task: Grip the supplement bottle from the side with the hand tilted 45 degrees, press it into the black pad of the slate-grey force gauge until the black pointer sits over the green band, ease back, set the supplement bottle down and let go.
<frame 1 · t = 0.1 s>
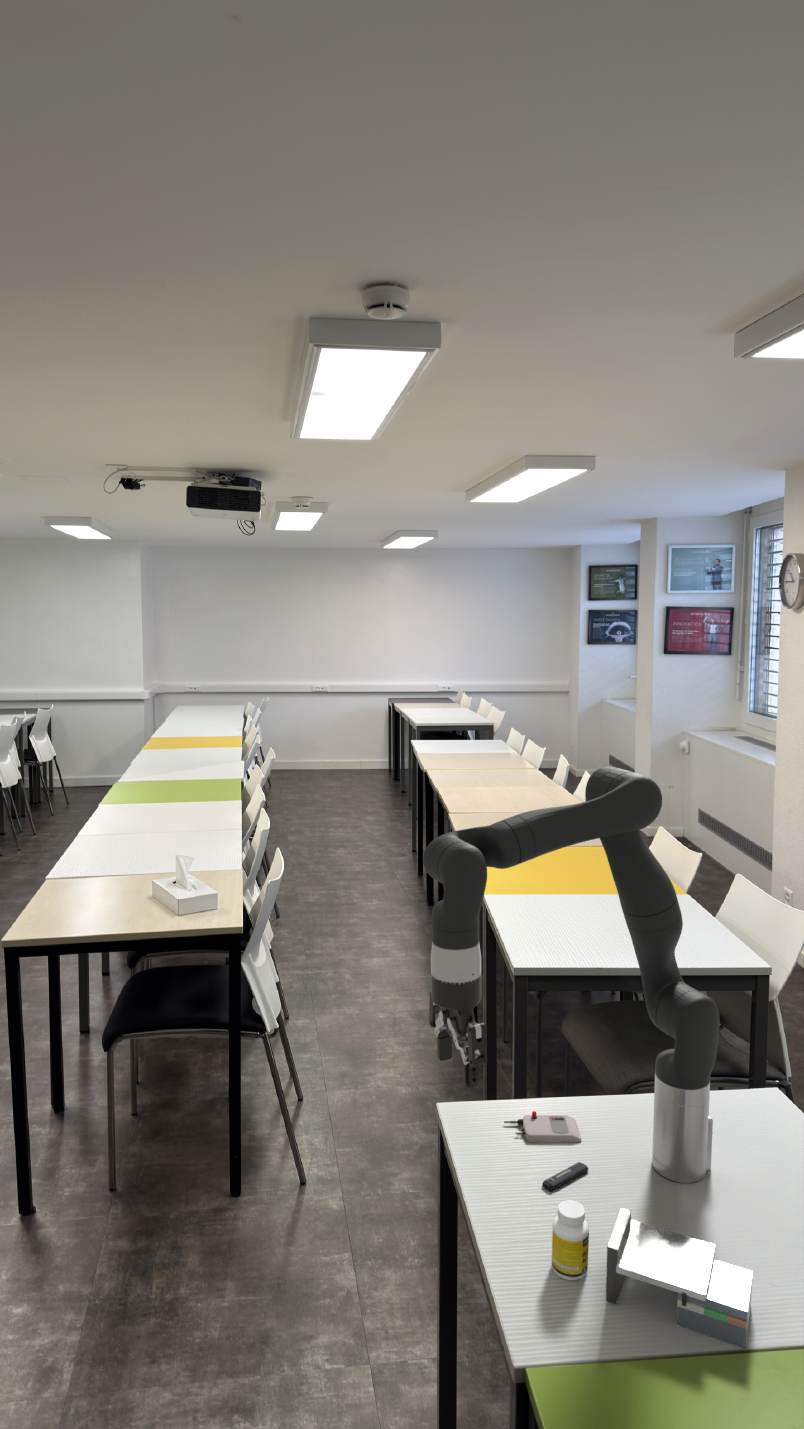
hand: (457, 1071, 135), 29 cm above the table, tool pointing down, fingers open, 8 cm apart
usb stick: (565, 1182, 155), on the table
electrical tester: (546, 1134, 169), on the table
gauge housing: (617, 1283, 131), on the table
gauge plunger: (660, 1267, 128), point 5 cm above the table, slide at 0.0 cm
supplement bottle: (569, 1269, 134), on the table
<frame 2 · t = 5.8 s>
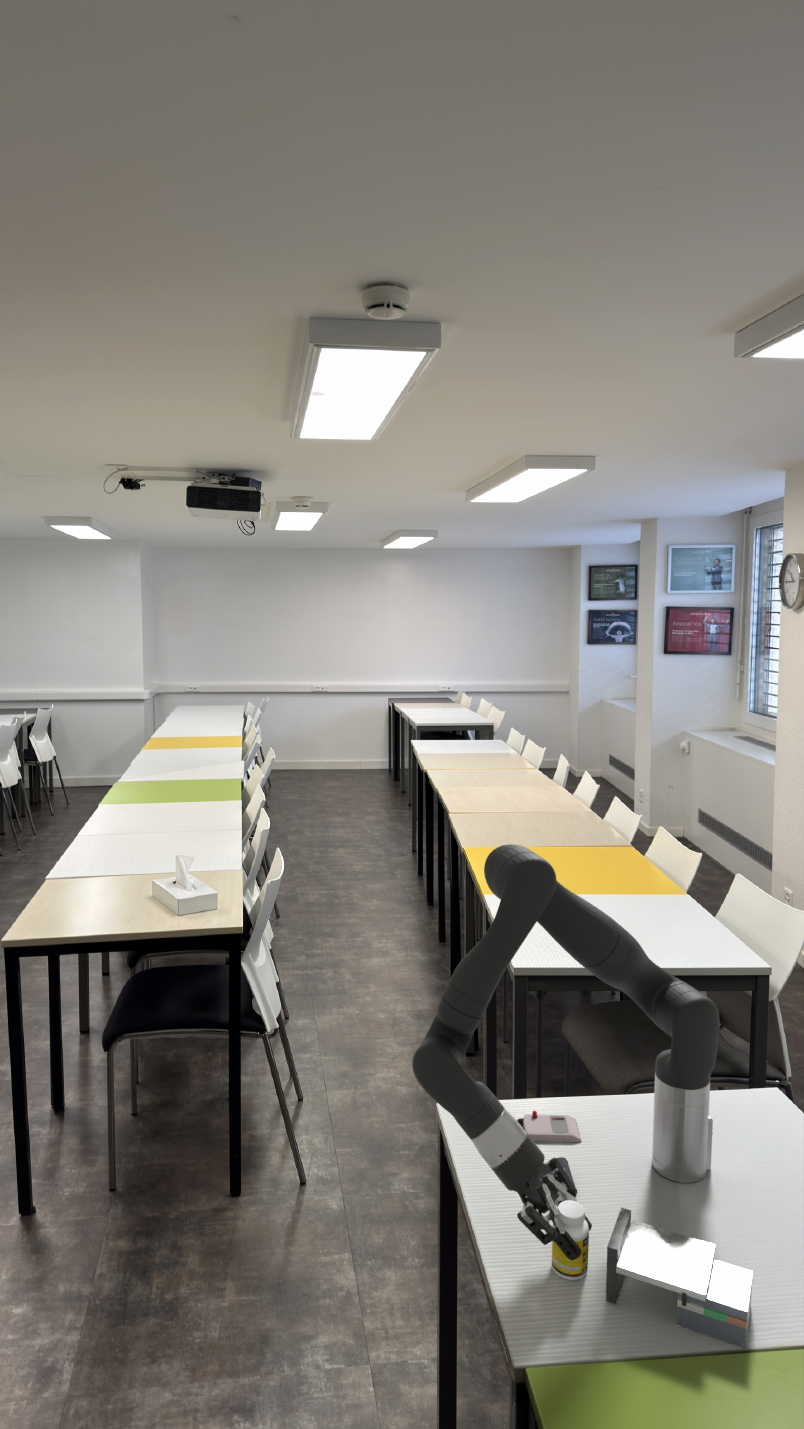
hand: (582, 1242, 133), 5 cm above the table, tool tilted 45°, fingers closed on supplement bottle, 5 cm apart
supplement bottle: (569, 1269, 134), on the table, touching gripper
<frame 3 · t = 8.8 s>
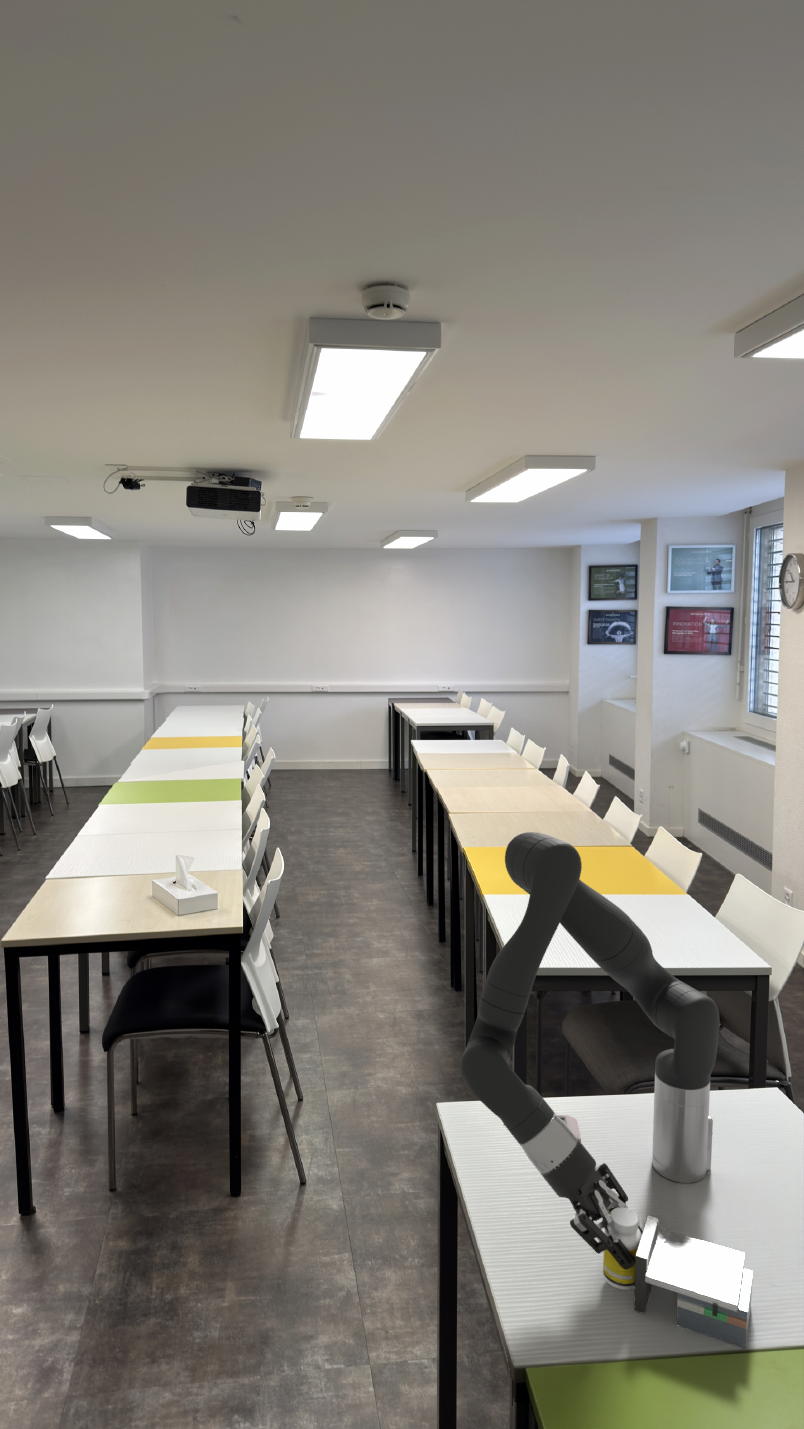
hand: (635, 1251, 129), 6 cm above the table, tool tilted 45°, fingers closed on supplement bottle, 5 cm apart
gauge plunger: (689, 1276, 126), point 5 cm above the table, slide at 4.0 cm, touching supplement bottle
supplement bottle: (621, 1278, 131), point 1 cm above the table, touching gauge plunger, gripper
when the fingers open (6 cm above the table, at t = 11.0 s): supplement bottle stays where it is, on the table.
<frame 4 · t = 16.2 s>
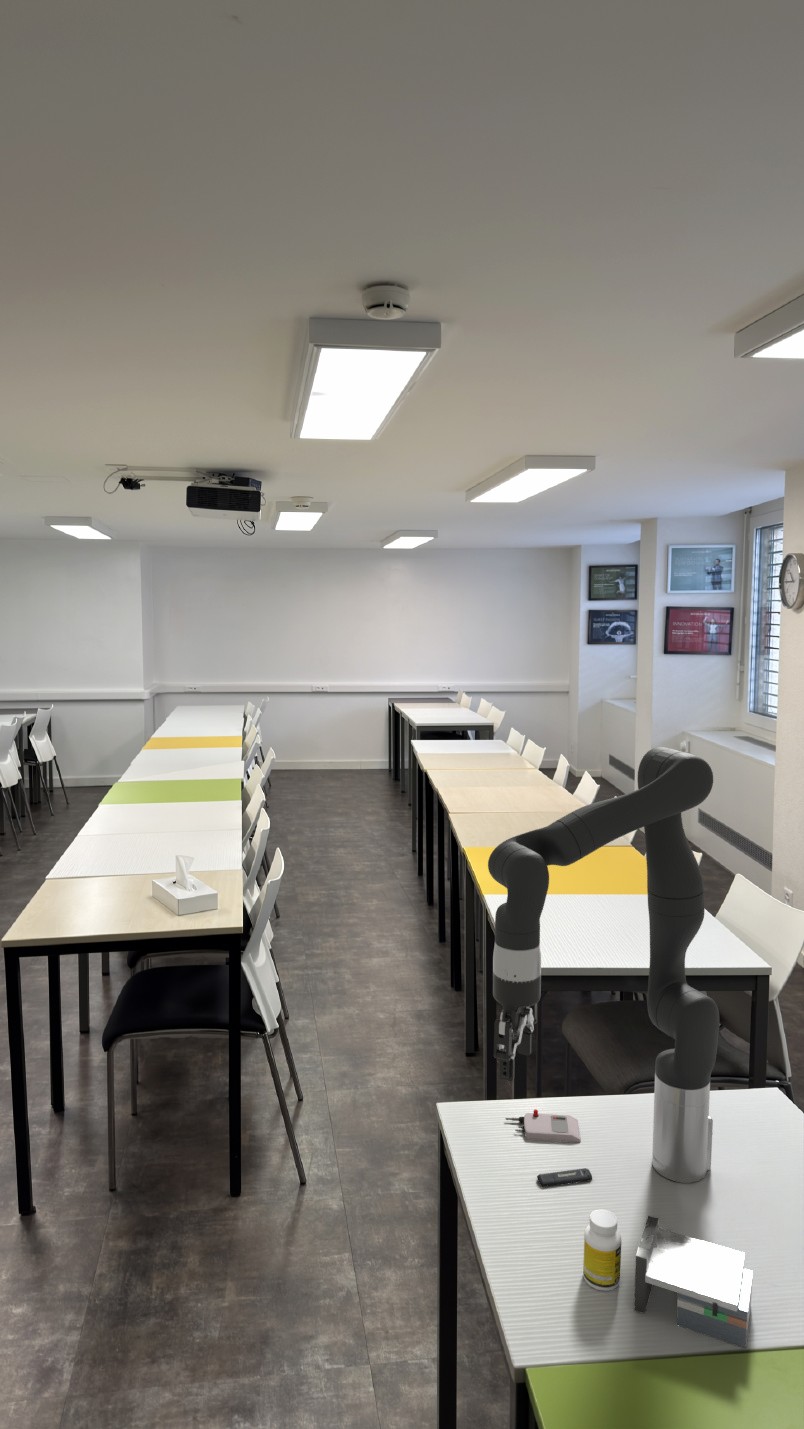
hand: (515, 1065, 142), 26 cm above the table, tool pointing down, fingers open, 8 cm apart
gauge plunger: (689, 1276, 126), point 5 cm above the table, slide at 4.0 cm
supplement bottle: (601, 1279, 132), on the table
at the end: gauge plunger slide at 4.0 cm; supplement bottle tilted 0°; the gripper is holding nothing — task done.
